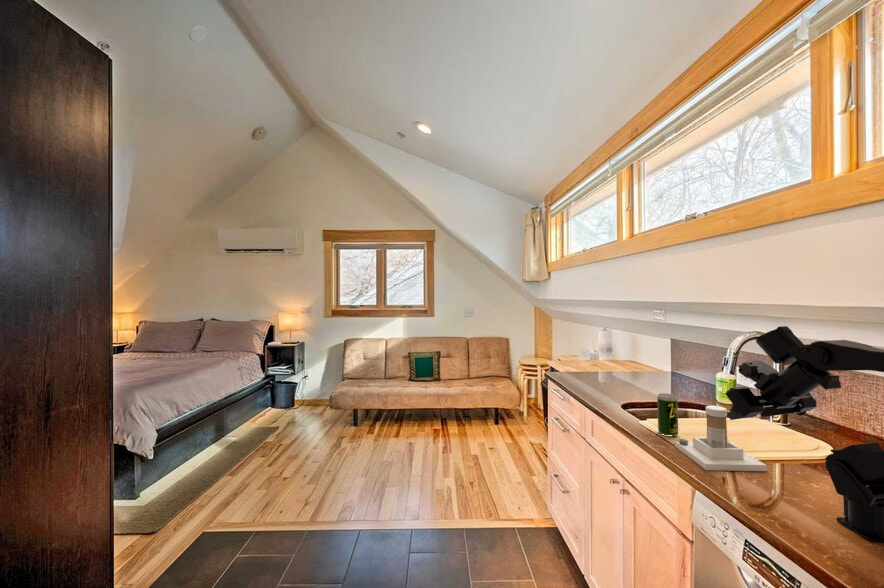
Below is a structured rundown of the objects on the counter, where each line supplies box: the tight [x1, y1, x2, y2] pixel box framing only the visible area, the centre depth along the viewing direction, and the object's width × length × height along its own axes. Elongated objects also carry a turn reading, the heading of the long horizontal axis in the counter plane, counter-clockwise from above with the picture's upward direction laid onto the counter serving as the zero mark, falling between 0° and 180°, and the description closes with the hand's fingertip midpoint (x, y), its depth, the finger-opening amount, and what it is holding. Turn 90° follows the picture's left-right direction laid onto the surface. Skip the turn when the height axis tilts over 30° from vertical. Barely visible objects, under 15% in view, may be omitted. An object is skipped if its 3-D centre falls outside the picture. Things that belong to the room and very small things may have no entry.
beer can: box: [656, 392, 679, 437], centre depth 115 cm, size 5×5×12 cm
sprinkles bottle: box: [705, 405, 729, 448], centre depth 98 cm, size 5×5×13 cm
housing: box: [674, 436, 768, 472], centre depth 98 cm, size 14×14×4 cm
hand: (745, 416), depth 90 cm, fingers open, 9 cm apart
